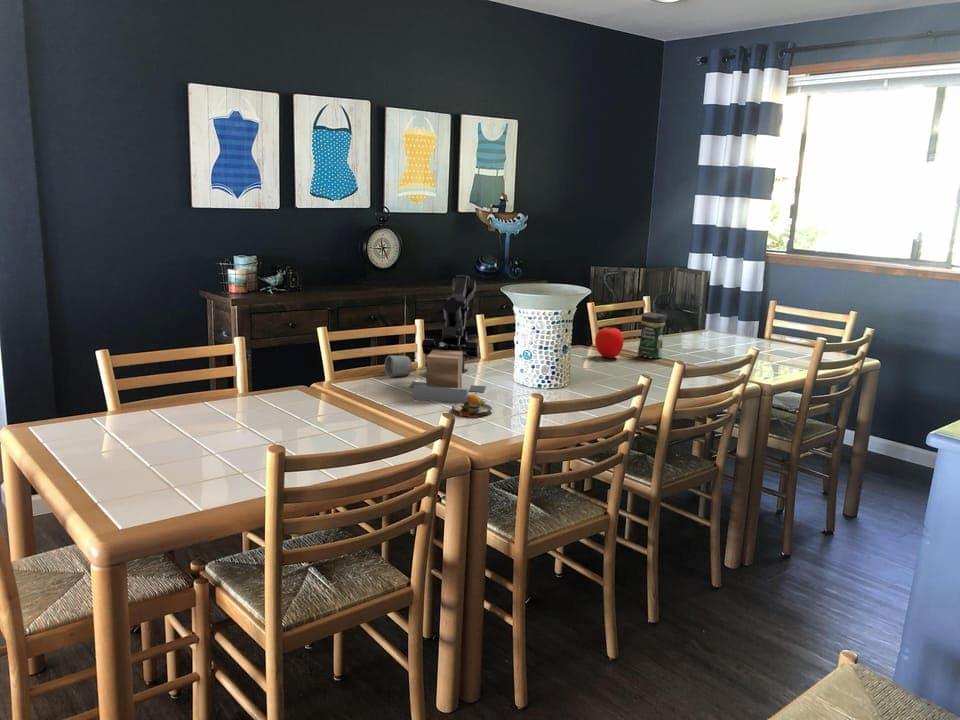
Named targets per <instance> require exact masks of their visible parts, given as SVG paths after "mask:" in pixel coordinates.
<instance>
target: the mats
mask: <svg viewBox="0 0 960 720" xmlns="http://www.w3.org/2000/svg"><path fill="white" fill-rule="evenodd" d="M415 385H417V386H426V381H424V382H423V381H412V382H411V383H410V385H408V389H414V386H415ZM486 387H487V386H486V385H474V384H471V385H470V387H469V393H475V392H476V393H485V390H486Z"/></svg>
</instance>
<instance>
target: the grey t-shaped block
mask: <svg viewBox="0 0 960 720" xmlns="http://www.w3.org/2000/svg"><path fill="white" fill-rule="evenodd" d="M469 389H470V388H469ZM469 389H468V388H464V387H463V388H449V387H433V386H417V385H415V386H414V388H413V399H414V400H424V401H425V400H426V401H440V402H441V401H442V402H443V401H444V402H457V403H464V402H466V401H467V400H466V398H467V396H468V395H470V394H469V393H470V392H469Z"/></svg>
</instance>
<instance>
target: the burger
mask: <svg viewBox="0 0 960 720" xmlns="http://www.w3.org/2000/svg"><path fill="white" fill-rule="evenodd" d="M466 400H467V401H466V402H458V403H455V404H453V405H452V406H451V412H452V413H453V414H455V415H456V416H458V417H459V416H460V417H461V416H463V417H464V416H465V417H467V418H477V419H478V418H479V419H480V418H485V417H489V416H491V415H492V414H493V412H492V411H491V410H492V409H493V408H492V406H490V405H489V404H486V403H487V401H484V398H481V397H480V396H479V395H478V394H477V392H474V393H470V394H469V395H468V396H467V398H466Z"/></svg>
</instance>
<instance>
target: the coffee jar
mask: <svg viewBox="0 0 960 720" xmlns="http://www.w3.org/2000/svg"><path fill="white" fill-rule="evenodd" d="M640 319H641V320H640V324H641V333H640V338H639V343H638V350H637V355H638V356H639V355H641V356H646V357H652V358H655V359H657V358H659V359H661V358H663V338H664V337H663V336H664V335H663V334H664V328H665V326H666V316H665V314H662V313H656V312H650V311H647V312H643V313H642V315H641V318H640ZM641 356H640V357H641Z"/></svg>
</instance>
